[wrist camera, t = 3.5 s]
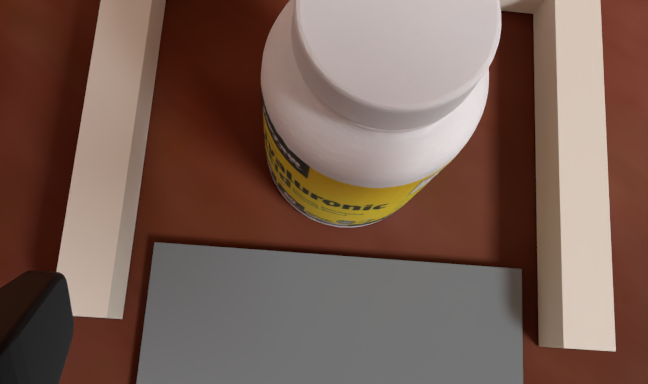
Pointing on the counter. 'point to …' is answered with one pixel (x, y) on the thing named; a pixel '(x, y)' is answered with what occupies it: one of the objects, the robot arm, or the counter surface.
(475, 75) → the supplement bottle
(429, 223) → the counter surface
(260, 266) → the mat
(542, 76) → the white u-shaped bracket
